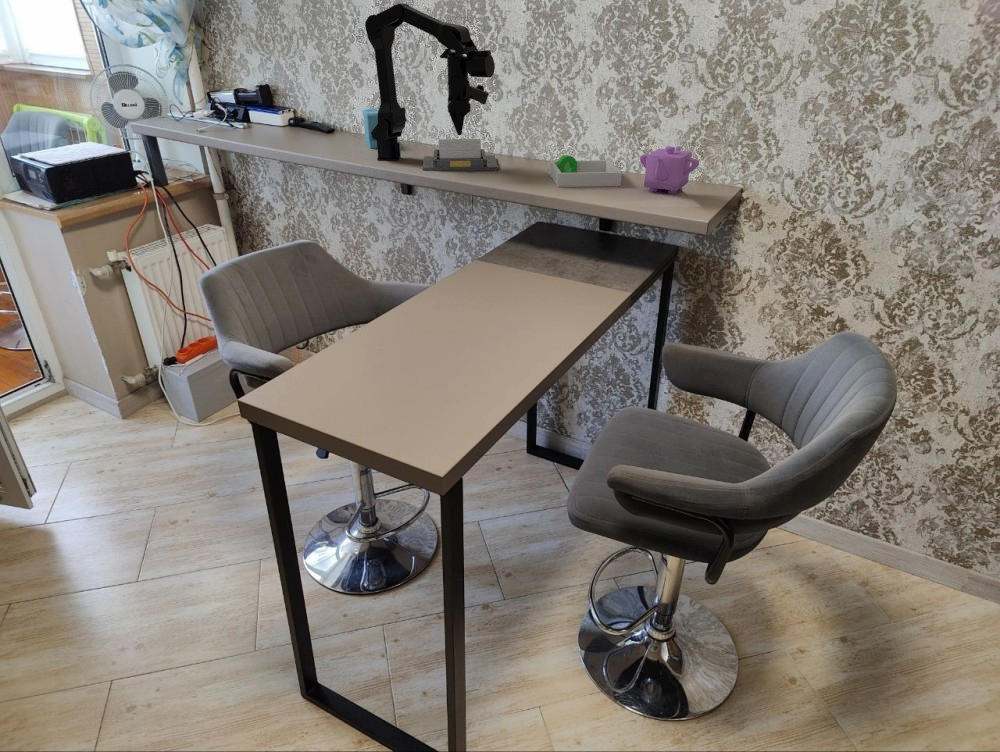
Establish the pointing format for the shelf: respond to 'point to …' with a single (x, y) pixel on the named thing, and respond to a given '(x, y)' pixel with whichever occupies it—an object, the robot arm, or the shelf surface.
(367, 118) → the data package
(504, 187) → the shelf surface
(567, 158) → the mechanical part
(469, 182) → the shelf surface
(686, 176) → the teapot
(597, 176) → the parts corral
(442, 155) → the panel
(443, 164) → the rack
